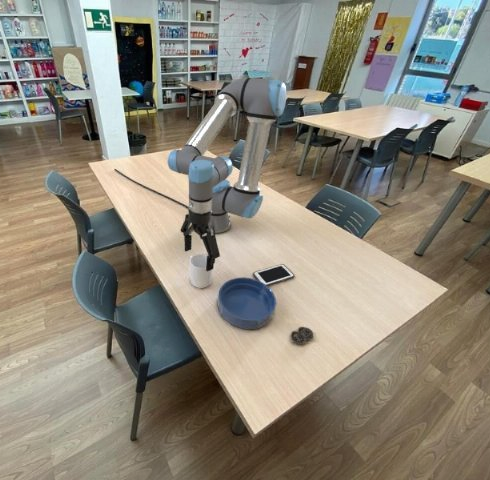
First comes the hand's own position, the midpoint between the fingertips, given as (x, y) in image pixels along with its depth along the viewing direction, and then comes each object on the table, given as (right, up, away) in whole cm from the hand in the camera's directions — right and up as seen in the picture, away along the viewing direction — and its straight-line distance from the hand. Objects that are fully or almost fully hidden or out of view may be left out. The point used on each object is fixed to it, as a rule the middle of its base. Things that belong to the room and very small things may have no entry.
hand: (198, 259), depth 104 cm
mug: (0, -8, +6) cm, 10 cm away
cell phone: (+30, -7, +7) cm, 31 cm away
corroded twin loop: (+32, -24, -15) cm, 43 cm away
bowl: (+16, -16, -6) cm, 24 cm away
